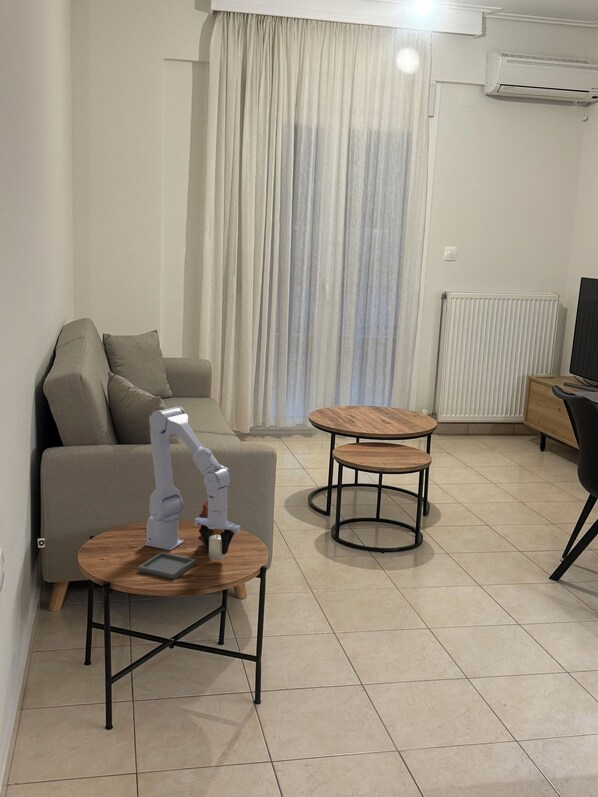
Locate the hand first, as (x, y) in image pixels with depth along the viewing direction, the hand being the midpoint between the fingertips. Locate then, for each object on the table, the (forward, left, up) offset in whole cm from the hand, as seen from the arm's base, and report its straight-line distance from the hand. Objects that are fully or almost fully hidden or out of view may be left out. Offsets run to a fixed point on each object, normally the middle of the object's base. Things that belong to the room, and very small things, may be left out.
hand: (216, 551), depth 240 cm
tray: (-11, -10, -4) cm, 15 cm away
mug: (-8, +13, -4) cm, 16 cm away
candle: (0, 0, -2) cm, 2 cm away
